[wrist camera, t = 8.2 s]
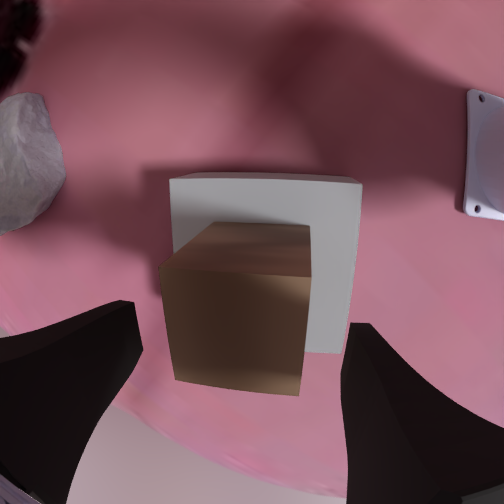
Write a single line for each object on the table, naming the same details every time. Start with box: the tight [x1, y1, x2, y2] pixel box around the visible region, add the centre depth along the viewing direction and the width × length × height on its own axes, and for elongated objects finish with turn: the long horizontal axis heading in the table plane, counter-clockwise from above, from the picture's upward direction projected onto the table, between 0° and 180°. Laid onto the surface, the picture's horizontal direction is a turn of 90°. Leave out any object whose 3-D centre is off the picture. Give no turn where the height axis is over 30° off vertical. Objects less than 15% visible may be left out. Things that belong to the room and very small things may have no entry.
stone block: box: [0, 92, 66, 236], centre depth 19 cm, size 12×5×10 cm
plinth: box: [169, 172, 363, 354], centre depth 17 cm, size 9×9×4 cm
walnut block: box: [158, 222, 312, 396], centre depth 12 cm, size 4×4×6 cm
